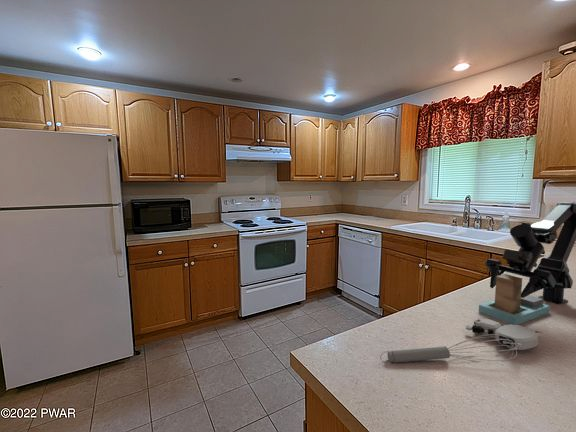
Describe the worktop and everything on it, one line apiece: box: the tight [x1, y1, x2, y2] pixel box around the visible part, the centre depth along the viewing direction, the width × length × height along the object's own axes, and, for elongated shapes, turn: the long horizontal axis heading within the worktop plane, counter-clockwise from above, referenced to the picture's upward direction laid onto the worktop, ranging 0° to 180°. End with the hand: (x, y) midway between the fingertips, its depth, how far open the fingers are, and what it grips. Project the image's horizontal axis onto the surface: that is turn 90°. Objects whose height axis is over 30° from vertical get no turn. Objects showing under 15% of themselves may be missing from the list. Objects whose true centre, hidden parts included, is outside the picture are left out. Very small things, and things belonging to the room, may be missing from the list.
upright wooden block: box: [494, 273, 523, 315], centre depth 94 cm, size 5×5×13 cm
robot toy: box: [465, 318, 545, 351], centre depth 79 cm, size 12×4×15 cm
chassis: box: [478, 294, 551, 325], centre depth 96 cm, size 20×11×4 cm, turn 114°
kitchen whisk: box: [379, 334, 518, 364], centre depth 70 cm, size 6×34×6 cm, turn 91°
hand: (505, 292), depth 93 cm, fingers open, 9 cm apart
